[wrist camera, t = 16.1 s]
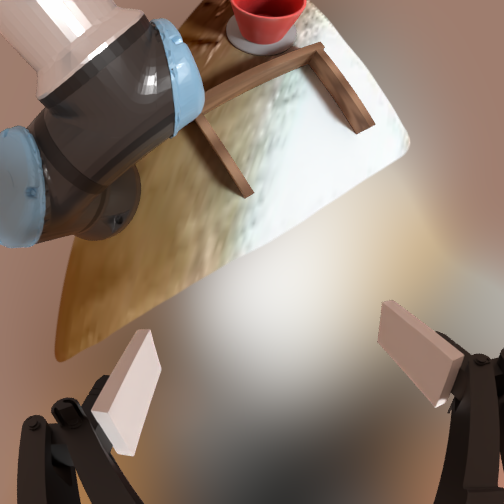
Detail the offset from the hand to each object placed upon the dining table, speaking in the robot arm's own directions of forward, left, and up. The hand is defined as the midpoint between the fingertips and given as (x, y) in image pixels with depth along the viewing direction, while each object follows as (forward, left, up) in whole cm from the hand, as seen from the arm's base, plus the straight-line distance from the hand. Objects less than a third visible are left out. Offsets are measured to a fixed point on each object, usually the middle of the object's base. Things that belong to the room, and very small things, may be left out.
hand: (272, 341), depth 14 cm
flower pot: (+4, +38, -27) cm, 47 cm away
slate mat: (+4, +38, -28) cm, 47 cm away
